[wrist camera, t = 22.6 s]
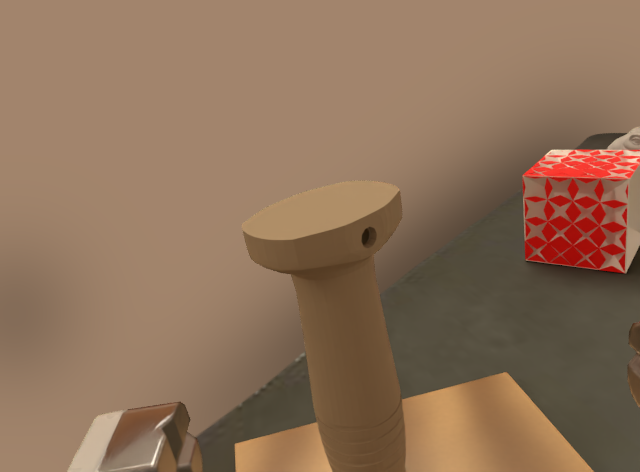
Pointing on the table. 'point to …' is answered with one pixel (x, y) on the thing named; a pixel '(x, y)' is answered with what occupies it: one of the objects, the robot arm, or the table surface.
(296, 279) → the handle
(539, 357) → the table surface
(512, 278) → the table surface
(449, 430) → the oak board
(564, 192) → the red and white cube
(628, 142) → the frog figurine
